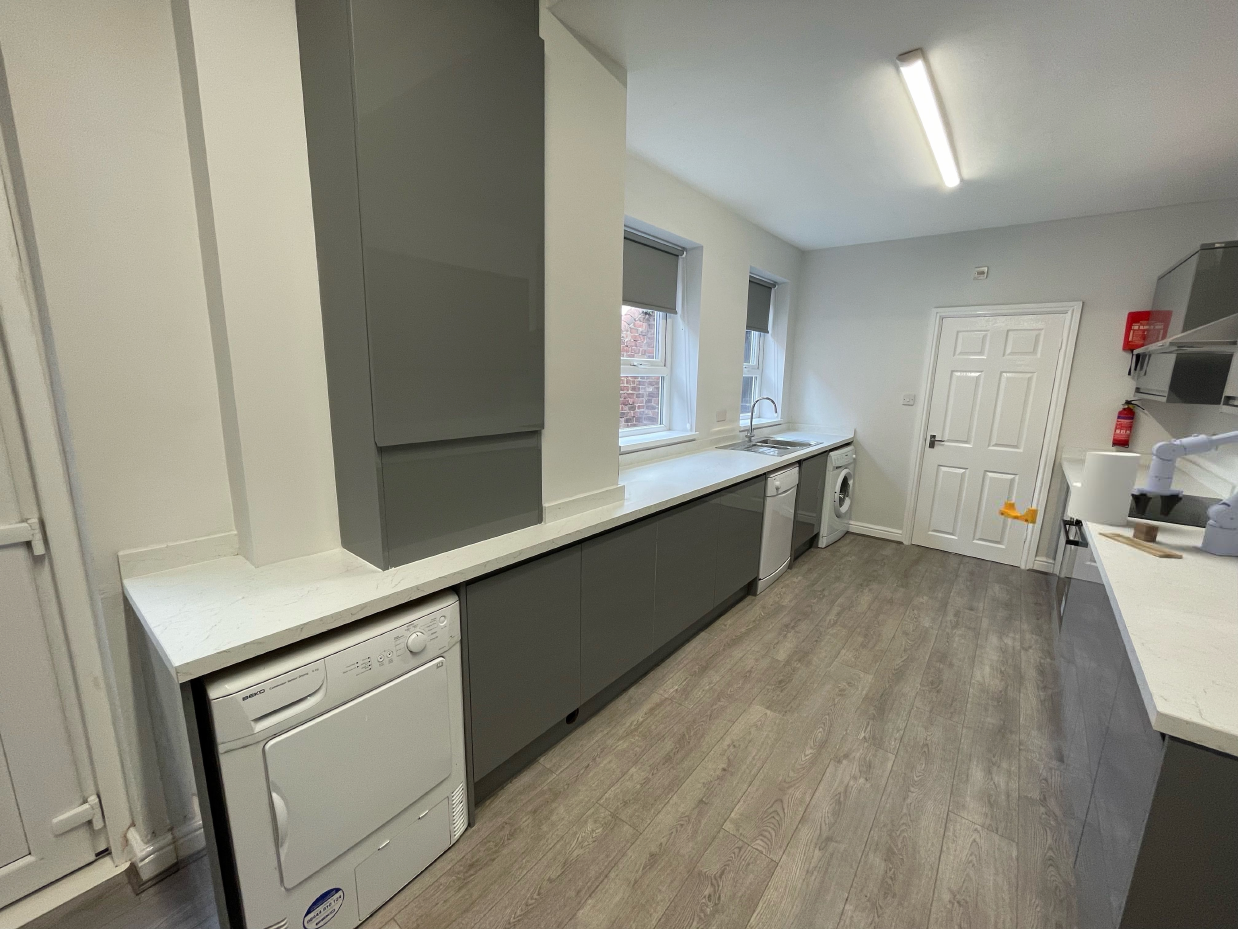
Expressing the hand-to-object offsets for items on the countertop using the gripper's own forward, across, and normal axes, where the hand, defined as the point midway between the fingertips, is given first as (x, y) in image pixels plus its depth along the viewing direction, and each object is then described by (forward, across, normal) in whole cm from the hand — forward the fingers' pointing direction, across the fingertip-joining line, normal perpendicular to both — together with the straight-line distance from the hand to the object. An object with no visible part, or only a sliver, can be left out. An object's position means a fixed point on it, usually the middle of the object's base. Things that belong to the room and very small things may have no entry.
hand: (1152, 515), depth 171 cm
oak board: (+10, +8, +6) cm, 14 cm away
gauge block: (+10, 0, -1) cm, 10 cm away
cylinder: (+10, -4, -26) cm, 28 cm away
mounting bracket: (+10, +29, -21) cm, 37 cm away
